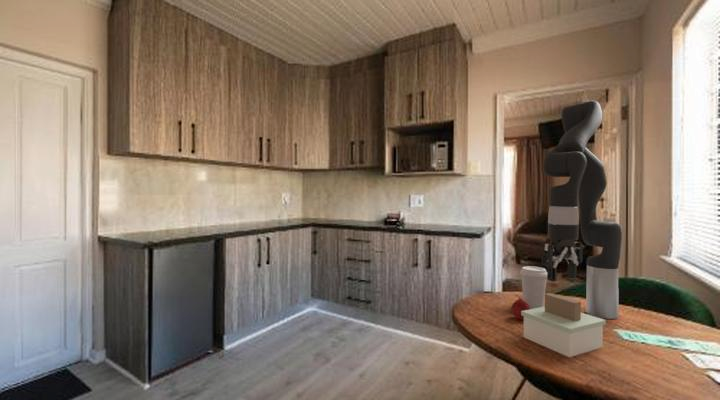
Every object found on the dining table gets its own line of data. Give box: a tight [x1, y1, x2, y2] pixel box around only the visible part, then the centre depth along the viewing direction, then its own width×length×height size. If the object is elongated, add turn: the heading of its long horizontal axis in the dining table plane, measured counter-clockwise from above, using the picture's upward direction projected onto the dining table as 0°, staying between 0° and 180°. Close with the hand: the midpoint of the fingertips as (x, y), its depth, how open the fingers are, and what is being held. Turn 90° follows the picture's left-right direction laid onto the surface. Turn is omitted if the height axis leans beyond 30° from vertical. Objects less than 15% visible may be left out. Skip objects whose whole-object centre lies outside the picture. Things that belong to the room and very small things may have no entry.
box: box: [523, 316, 604, 358], centre depth 99 cm, size 14×14×7 cm
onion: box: [511, 296, 530, 321], centre depth 118 cm, size 6×6×8 cm
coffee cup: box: [519, 265, 548, 309], centre depth 130 cm, size 10×10×15 cm
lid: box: [521, 293, 607, 334], centre depth 99 cm, size 15×15×7 cm
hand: (562, 279), depth 99 cm, fingers open, 8 cm apart
